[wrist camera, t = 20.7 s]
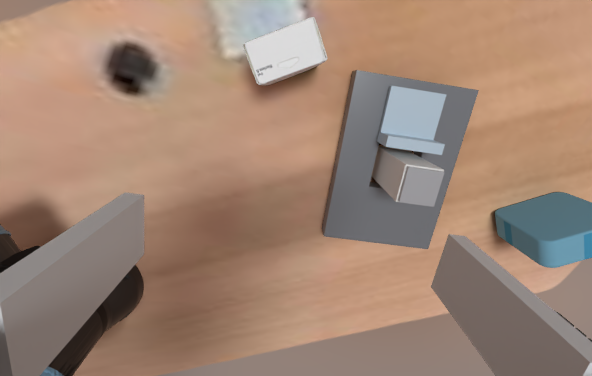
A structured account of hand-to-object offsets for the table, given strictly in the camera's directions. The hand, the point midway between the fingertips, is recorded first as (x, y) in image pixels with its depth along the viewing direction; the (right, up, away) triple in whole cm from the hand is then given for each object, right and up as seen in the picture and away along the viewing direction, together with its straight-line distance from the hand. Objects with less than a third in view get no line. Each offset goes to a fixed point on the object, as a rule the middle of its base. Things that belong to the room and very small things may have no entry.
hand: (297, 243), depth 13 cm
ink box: (-2, +21, +32) cm, 38 cm away
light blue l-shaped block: (+17, +13, +32) cm, 38 cm away
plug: (+15, +6, +37) cm, 41 cm away
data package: (+40, -2, +41) cm, 57 cm away
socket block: (+15, +6, +37) cm, 41 cm away
